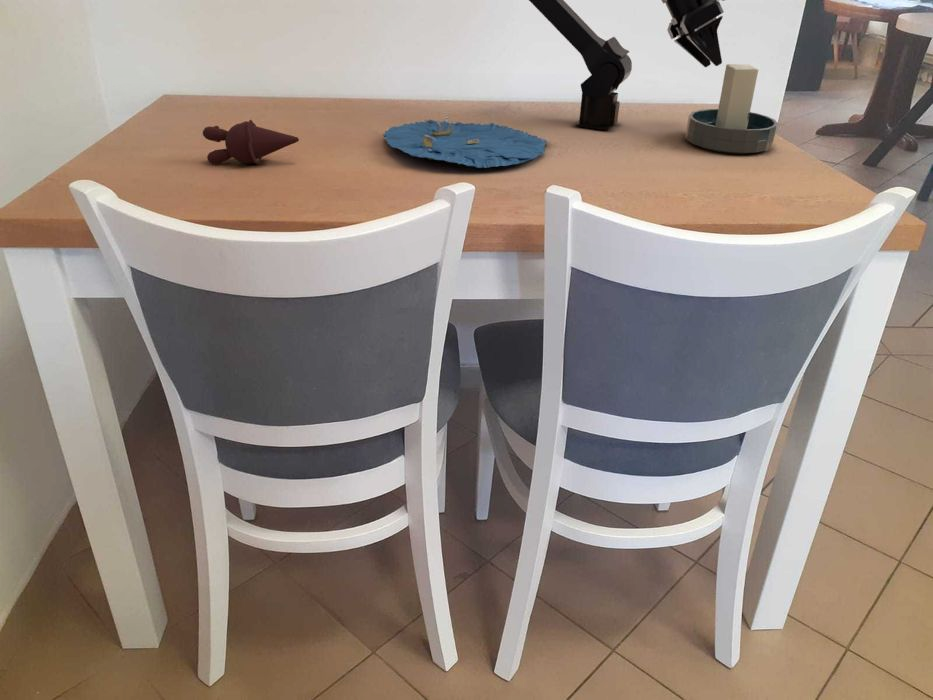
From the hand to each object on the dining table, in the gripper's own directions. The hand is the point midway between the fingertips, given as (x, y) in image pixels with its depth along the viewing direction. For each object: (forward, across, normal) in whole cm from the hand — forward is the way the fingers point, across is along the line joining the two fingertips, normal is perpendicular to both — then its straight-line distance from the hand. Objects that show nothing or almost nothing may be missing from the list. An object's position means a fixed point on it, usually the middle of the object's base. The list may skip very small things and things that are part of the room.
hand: (713, 65), depth 131 cm
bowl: (+14, 0, +3) cm, 14 cm away
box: (+13, 0, +3) cm, 14 cm away
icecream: (-25, -26, +73) cm, 82 cm away
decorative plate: (-10, -11, +45) cm, 47 cm away
